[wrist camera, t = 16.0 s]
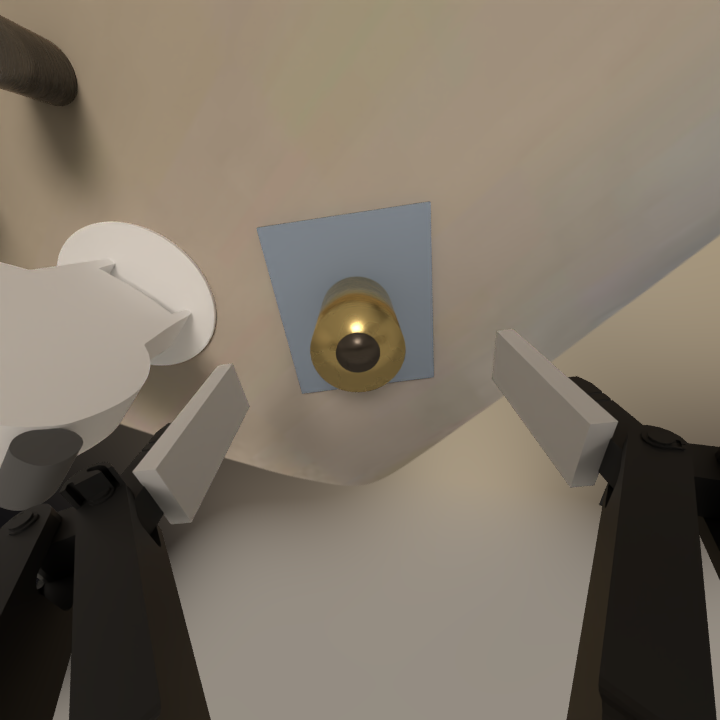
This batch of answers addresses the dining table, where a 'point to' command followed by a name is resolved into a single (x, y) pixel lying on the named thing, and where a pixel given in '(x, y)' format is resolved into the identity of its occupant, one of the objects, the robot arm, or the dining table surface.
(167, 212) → the dining table surface
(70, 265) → the panda figurine
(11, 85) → the spacer posts
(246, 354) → the dining table surface
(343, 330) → the gold metal cylinder
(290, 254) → the slate board
